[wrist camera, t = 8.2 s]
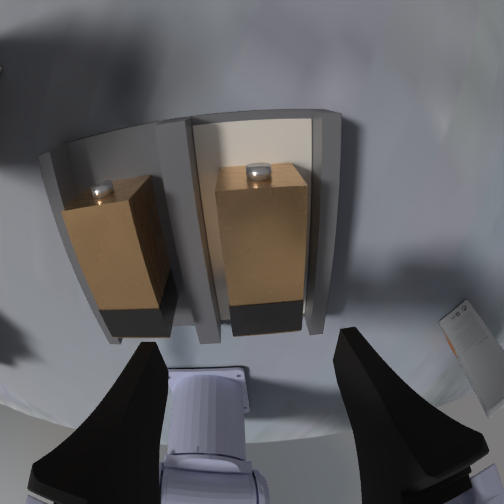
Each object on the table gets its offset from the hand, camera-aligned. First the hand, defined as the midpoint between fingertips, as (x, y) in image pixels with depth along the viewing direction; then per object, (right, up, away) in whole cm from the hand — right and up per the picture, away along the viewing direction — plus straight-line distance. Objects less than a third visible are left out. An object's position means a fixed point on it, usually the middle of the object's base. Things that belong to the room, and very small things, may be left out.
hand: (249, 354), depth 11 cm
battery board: (-4, +5, +8) cm, 10 cm away
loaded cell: (-7, +4, +7) cm, 11 cm away
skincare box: (+23, -4, +15) cm, 28 cm away
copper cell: (+1, +5, +7) cm, 9 cm away
